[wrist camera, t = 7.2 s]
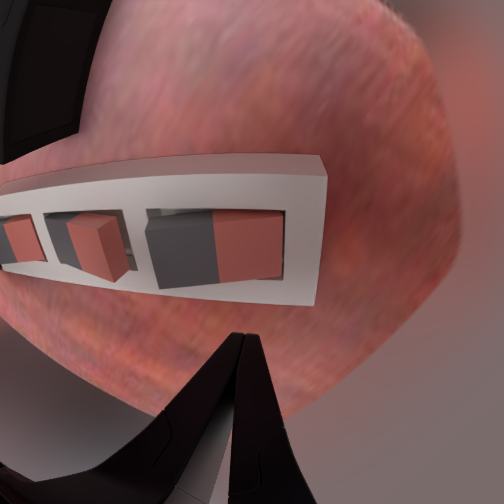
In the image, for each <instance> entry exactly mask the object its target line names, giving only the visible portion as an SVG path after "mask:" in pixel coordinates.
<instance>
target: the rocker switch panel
mask: <svg viewBox="0 0 504 504" xmlns="http://www.w3.org/2000/svg"><path fill="white" fill-rule="evenodd" d="M327 181H328V176H327V173H326V170H325V168H324V165H323V163H322V160H321V158H320V155H309V154H281V153H227V154H199V155H181V156H167V157H155V158H145V159H135V160H126V161H118V162H110V163H103V164H96V165H89V166H83V167H77V168H71V169H65V170H60V171H55V172H50V173H45V174H40V175H35V176H31V177H27V178H22V179H18V180H14V181H10V182H7V183H5V184H4V185H2V186H0V219H3V218H7V217H11V216H16V215H20V214H31V216H32V219H33V222H34V225H35V228H36V231H37V234H38V236H39V239H40V242H41V245H42V247H43V250H44V252H45V255H46V259H45V260H38V261H28V262H19V263H10V264H2V265H1V266H2V268H3V270H4V271H7V272H12V273H17V274H22V275H28V276H33V277H39V278H44V279H50V280H56V281H62V282H68V283H75V284H81V285H88V286H95V287H102V288H109V289H116V290H124V291H132V292H140V293H149V294H157V295H167V296H176V297H186V298H197V299H208V300H220V301H233V302H247V303H262V304H279V305H300V306H314V303H315V296H316V289H317V282H318V274H319V266H320V257H321V248H322V239H323V229H324V219H325V207H326V195H327ZM218 209H267V210H279V211H280V212H281V214H282V216H283V237H282V271H281V276H278V277H270V278H262V279H253V280H245V281H236V282H227V283H218V284H209V285H200V286H190V287H180V288H170V289H160V290H159V287H158V283H157V280H156V276H155V272H154V268H153V264H152V261H151V257H150V253H149V248H148V244H147V240H146V236H145V228H146V226H147V223H148V220H149V218H150V217H157V216H165V215H173V214H181V213H190V212H199V211H208V210H218ZM65 211H81V212H88V213H95V214H102V215H108V216H115V217H117V221H118V225H119V229H120V233H121V237H122V241H123V244H124V248H125V251H126V255H127V258H128V262H129V265H130V268H131V269H130V270H129V271H128V272H126V273H125V274H124V275H123V276H122V277H121V278H120V279H119V280H117V281H116V282H115V283H113V282H110V281H107V280H105V279H102V278H100V277H97V276H94V275H92V274H89V273H87V272H84V271H82V270H79V269H77V268H74V267H72V266H69V265H67V264H65V263H62V262H60V261H59V260H58V257H57V255H56V252H55V249H54V247H53V244H52V241H51V238H50V236H49V233H48V230H47V227H46V224H45V221H44V218H45V217H46V216H48V215H50V214H51V213H53V212H65Z"/></svg>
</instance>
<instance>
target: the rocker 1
mask: <svg viewBox="0 0 504 504" xmlns="http://www.w3.org/2000/svg"><path fill="white" fill-rule="evenodd" d="M45 259H46V255H45V252H44V250H43V247H42V245H41V242H40V239H39V236H38V234H37V231H36V228H35V225H34V222H33V219H32V216H31V214H20V215H16V216H11V217H7V218H3V219H0V265H2V264H10V263H19V262H28V261H38V260H45Z"/></svg>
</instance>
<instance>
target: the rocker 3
mask: <svg viewBox="0 0 504 504" xmlns="http://www.w3.org/2000/svg"><path fill="white" fill-rule="evenodd" d="M145 236H146V240H147V244H148V248H149V253H150V257H151V261H152V264H153V268H154V272H155V276H156V280H157V283H158V287H159V290H160V289H170V288H180V287H190V286H200V285H209V284H218V283H227V282H236V281H245V280H253V279H262V278H270V277H278V276H281V271H282V237H283V216H282V214H281V212H280V211H279V210H267V209H218V210H208V211H199V212H190V213H181V214H173V215H165V216H157V217H150V218H149V220H148V223H147V226H146V228H145Z"/></svg>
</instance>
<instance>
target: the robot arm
mask: <svg viewBox="0 0 504 504" xmlns="http://www.w3.org/2000/svg"><path fill="white" fill-rule="evenodd" d="M1 269H2V266H1V265H0V270H1ZM164 410H165V411H164ZM164 410H162V411H161V412H160V413H159V414H158V415H157V417H156V418H155V419H154V420H153V421H152V422H151V423H150V424H149V425H148V426H147V427H146V428H145V429H144V430H142V431H141V432H140V433H139V434H138V435H137V436H136V437H134V438H133V439H132V440H131V441H130V442H128V443H127V444H126V445H125V446H123V447H122V448H121V449H119V450H118V451H117V452H116V453H114V454H113V455H112V456H110V457H109V458H108V459H106V460H105V461H104V462H102V463H101V464H100V465H98V466H96V467H94V468H92V469H89V470H87V471H84V472H80V473H76V474H72V475H68V476H63V477H59V478H54V479H49V480H44V481H38V482H34V481H32V480H30V479H28V478H27V477H25V476H23V475H21V474H19V473H18V472H16V471H14V470H12V469H10V468H8V467H7V466H6V465H4V464H3V463H2V462H0V504H209V501H210V498H211V495H212V492H213V488H214V485H215V482H216V479H217V476H218V472H219V469H220V466H221V463H222V459H223V456H224V453H225V449H226V446H227V443H228V439H229V436H230V432H231V429H232V444H231V461H230V476H229V493H228V496H229V498H228V504H317V503H316V501H315V499H314V496H313V494H312V492H311V490H310V489H309V487H308V484H307V483H306V480H305V478H304V476H303V474H302V472H301V470H300V468H299V466H298V463H297V461H296V459H295V456H294V454H293V451H292V448H291V446H290V442H289V439H288V436H287V432H286V429H285V428H284V422H283V419H282V415H281V412H280V408H279V405H278V401H277V398H276V394H275V391H274V387H273V383H272V380H271V376H270V373H269V369H268V366H267V362H266V358H265V355H264V351H263V347H262V344H261V340H260V337H259V335H258V334H250V333H247V334H246V335H245V334H244V333H238V332H232V333H231V334H230V335H229V336H228V337H227V338H226V339H225V341H224V342H223V343H222V344H221V345H220V346H219V348H218V349H217V350H216V351H215V352H214V353H213V354H212V356H211V357H210V358H209V359H208V360H207V361H206V362H205V364H204V365H203V366H202V367H201V368H200V369H199V370H198V372H197V373H196V374H195V375H194V376H193V377H192V378H191V379H190V380H189V382H188V383H187V384H186V385H185V386H184V387H183V388H182V389H181V391H180V392H179V393H178V394H177V395H176V396H175V397H174V398H173V399H172V400H171V402H170V403H169V404H168V405H167V406H166V407H165V408H164ZM232 426H233V428H232Z"/></svg>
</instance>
